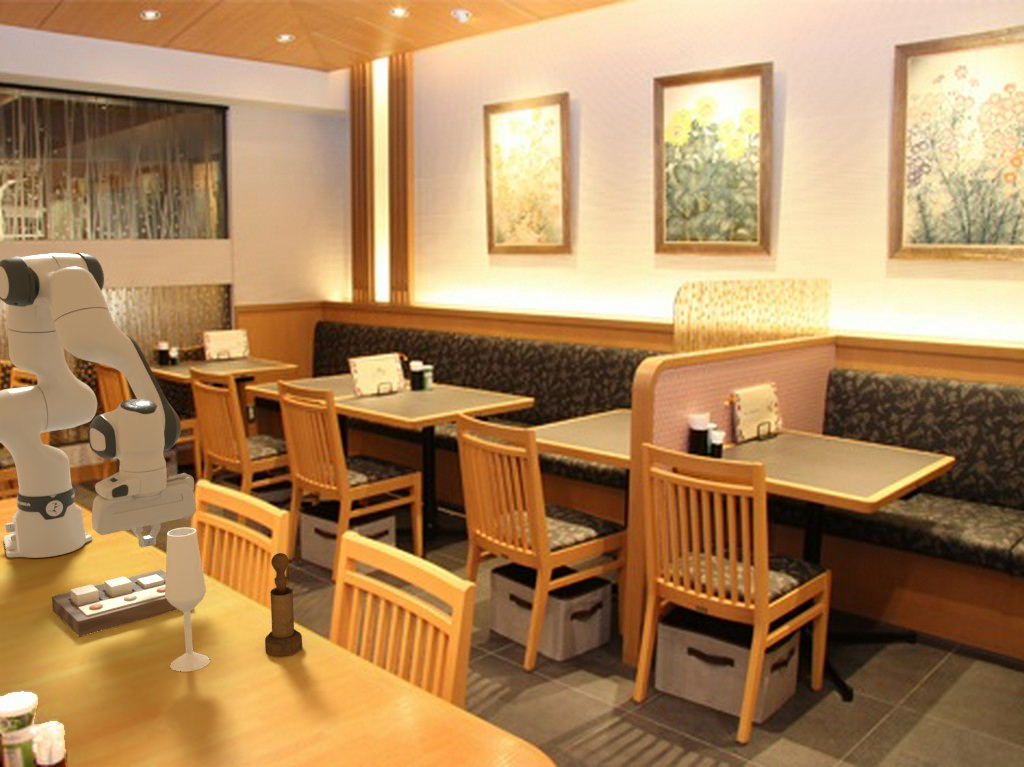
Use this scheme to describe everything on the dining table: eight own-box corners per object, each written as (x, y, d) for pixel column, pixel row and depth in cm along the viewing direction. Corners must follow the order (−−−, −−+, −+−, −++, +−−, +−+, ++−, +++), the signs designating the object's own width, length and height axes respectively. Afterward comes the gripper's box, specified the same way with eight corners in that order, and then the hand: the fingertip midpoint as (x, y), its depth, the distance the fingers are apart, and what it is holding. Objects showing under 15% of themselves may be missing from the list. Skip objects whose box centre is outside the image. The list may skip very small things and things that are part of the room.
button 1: (71, 603, 189) (70, 589, 188) (92, 598, 192) (91, 584, 191) (78, 610, 186) (77, 595, 186) (99, 604, 189) (98, 590, 188)
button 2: (138, 592, 198) (137, 579, 197) (157, 587, 200) (156, 574, 200) (145, 598, 195) (144, 584, 194) (165, 593, 197) (164, 579, 197)
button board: (52, 610, 191) (51, 596, 190) (161, 582, 205) (160, 569, 205) (79, 636, 179) (78, 621, 178) (193, 605, 193) (192, 591, 193)
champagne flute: (196, 650, 173) (188, 523, 169) (217, 661, 169) (210, 531, 165) (162, 664, 168) (153, 532, 164) (183, 675, 164) (175, 541, 160)
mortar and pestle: (297, 657, 170) (293, 560, 167) (261, 657, 171) (256, 560, 167) (305, 641, 177) (302, 547, 174) (271, 640, 177) (266, 547, 174)
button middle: (105, 595, 193) (104, 581, 193) (125, 590, 196) (124, 576, 195) (112, 601, 190) (111, 586, 190) (132, 595, 193) (131, 581, 192)
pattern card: (78, 608, 184) (78, 606, 184) (170, 584, 196) (169, 582, 196) (87, 616, 181) (86, 614, 181) (180, 591, 192) (179, 589, 192)
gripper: (186, 468, 203) (190, 530, 205) (86, 485, 189) (91, 552, 192) (199, 474, 198) (202, 538, 201) (97, 493, 185) (102, 561, 187)
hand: (147, 545), depth 196 cm, fingers closed
